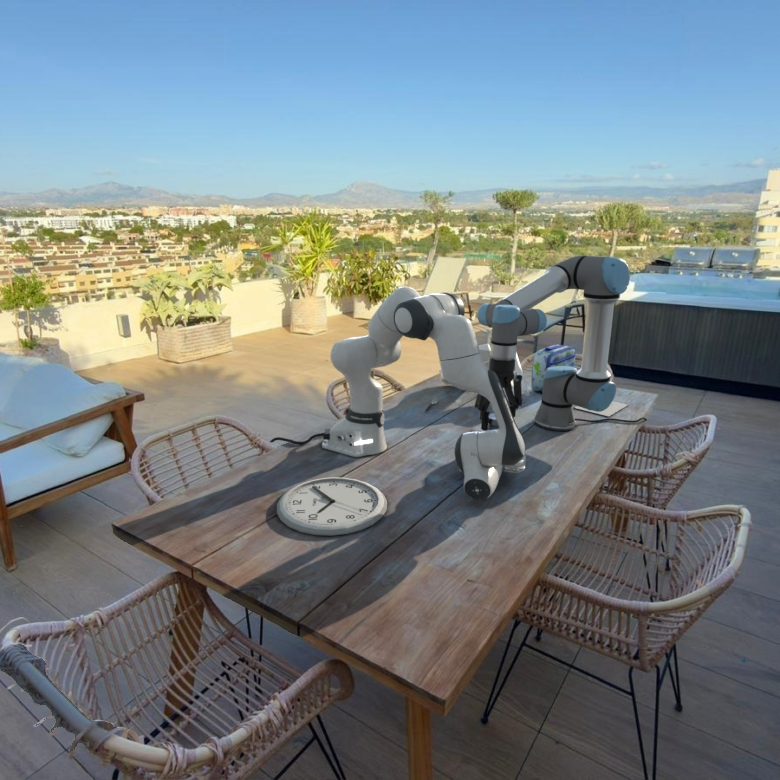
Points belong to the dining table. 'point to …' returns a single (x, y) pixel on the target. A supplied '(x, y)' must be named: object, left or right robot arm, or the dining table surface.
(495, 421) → the lid
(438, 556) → the dining table surface
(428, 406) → the fork
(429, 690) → the dining table surface
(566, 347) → the lunch box
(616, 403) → the invitation card
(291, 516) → the wall clock
